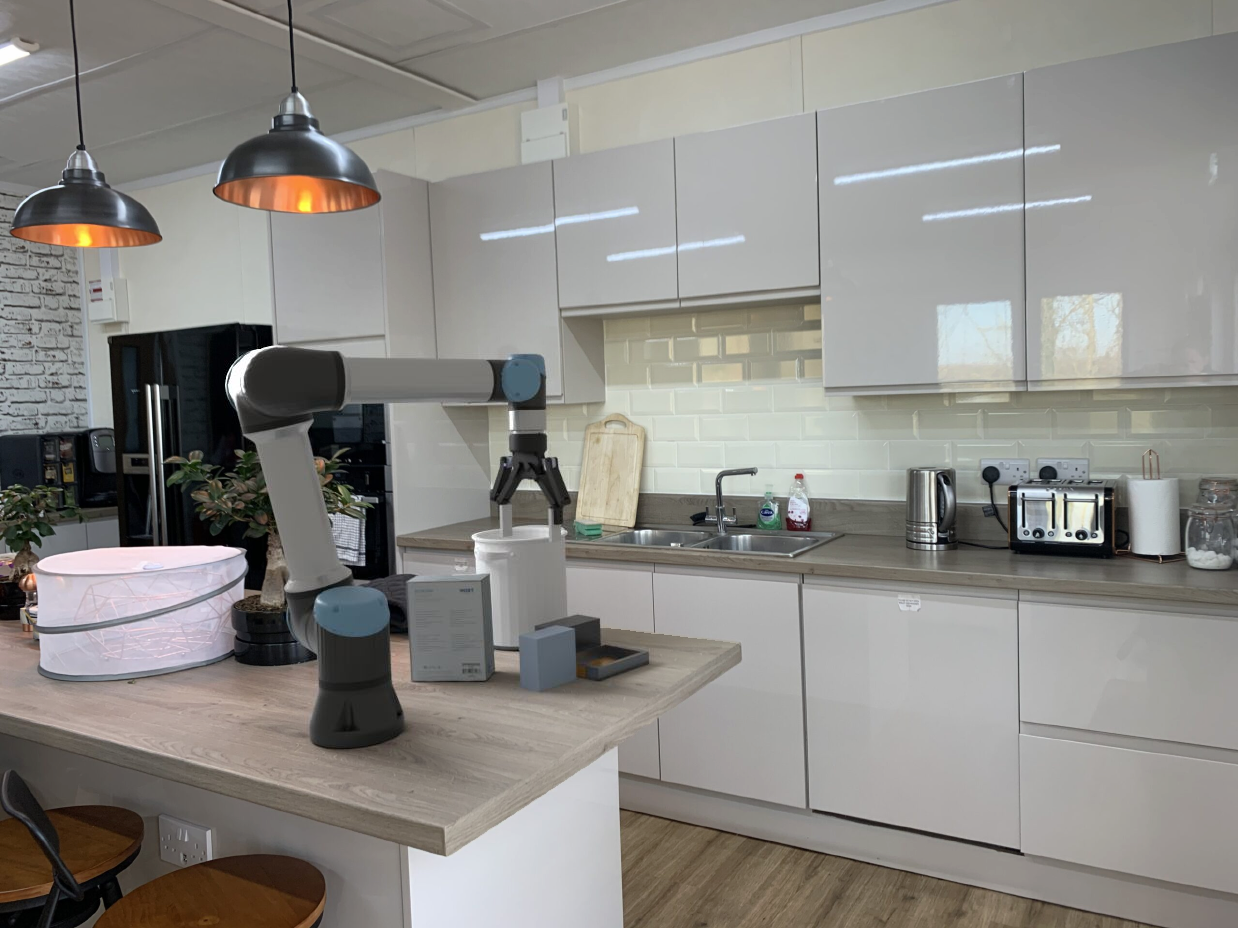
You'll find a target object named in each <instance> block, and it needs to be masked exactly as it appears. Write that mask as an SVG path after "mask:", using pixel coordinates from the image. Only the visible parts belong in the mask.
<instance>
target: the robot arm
mask: <svg viewBox="0 0 1238 928" xmlns="http://www.w3.org/2000/svg"><path fill="white" fill-rule="evenodd" d="M225 392H226V396H227V399H228V400H229V402H230V404H231V406H232V408H234V410H235V411H236V412H237V416H238V420H239V424H240V427H241V431H242V435H243V437H245V438H246V439H248V440H250V441H251V442H253V443H254V444H255V446H256V450H257V454H258V459H259V462H260V466H261V469H262V474H263V478H264V480H265V485H266V488H267V493H268V496H269V500H270V504H271V506H272V507H271V508H272V512H273V515H274V519H275V523H276V527H277V531H278V535H279V538H280V542H281V545H282V550H283V553H284V557H285V562H286V565H287V568H288V573H289V578H288V579H287V581H286V584H285V585H284V587H283V591H284V594H285V598H286V602H287V609H286V624H287V626H288V629H289V631H290V633H291V635H292V637H293V638H294V639H295V640H296V641H297V643H299V644H300V645H301V646H302V647H303V648H305V649H308V650H309V651H310V652H313V654H316V658H317V659H316V663H317V678H318V691H317V695H316V700H315V703H314V708H313V711H312V715H311V718H310V721H309V728H308V729H309V739H310V741H311V742H312V743H314V744H315V745H318V746H319V747H324V748H332V749H348V748H349V749H350V748H360V747H361V748H362V747H366V746H371V745H375V744H380V743H382V742H386V741H388V740H390V739H393V738H395V737H397V736H398V735H400V734H401V733H403V731H404V730H405V727H406V724H405V722H406V721H405V712H404V710H403V707H402V705H401V702H400V699H399V697H398V694H397V692H396V690H395V687H394V685H393V679H392V676H393V675H392V654H391V653H392V652H391V631H390V630H391V628H390V617H391V612H390V609H389V605H388V598H387V597H386V595H385V593H383V591H381V590H379V589H376V588H373V587H370V586H367V587H365V586H362V585H356V584H355V579H354V576H353V572H352V569H350V568H349V567H347V566H346V565H344V564H342V563H341V561H340V557H339V553H338V550H337V546H336V545H337V544H336V542H335V537H334V533H333V529H332V525H331V521H330V517H329V513H328V508H327V505H326V502H325V498H324V493H323V489H322V485H321V482H320V477H319V474H318V470H317V466H316V462H315V458H314V455H313V454H314V453H313V449H312V445H311V441H310V438H309V434H308V432H309V429H310V427H311V426H312V424H313V423H314V420H315V419H314V416H313V413H315V412H316V413H317V412H323V411H324V412H325V411H341V410H342V409H344V407H346V405H355V404H356V405H360V404H367V405H369V404H406V403H407V404H414V403H415V404H418V403H419V404H420V403H462V404H469V405H470V404H487V403H488V404H490V403H491V404H492V403H502V404H503V403H504V404H505V403H507V407H508V408H507V409H508V431H509V432H511V433H510V434H509V435H508V447H509V448H508V450H509V452H510V453H511V454H512V455H503V456H501V457H500V458H499V469H498V471H497V475H496V477H495V480H494V483H493V487H492V490H491V493H490V496H489V500H490V501H491V502H495V503H496V504H497V518H498V520H499V529H500V537H508V536H512V528H513V507H512V505H513V504H511V499H512V497H513V496H514V494H515V493H516V491H517V489H518V488H519V486H520V484H521V482H522V481H524V480H528V481H529V480H532V481H534V482H535V483H536V484H537V485H538V487H539V488H540V490H541V492H542V493H543V495H544V497H545V498H546V500H547V501H548V503H549V505H550V506H549V508H548V511H547V512H548V528H549V542H556V541H561V529H562V525H563V524H564V507H566V506H568V505H571V504H572V499H571V497H570V495H569V494H570V493H569V492H568V489H567V487H566V486H567V485H566V483H565V480H564V479H563V478H564V477H563V476H562V474H561V471H560V467H559V459H558V457H557V456H549V457H548V456H547V457H546V455H545V453H546V451H547V450H548V435H547V433H545V432H544V431H546V430H547V370H546V364H545V358H544V357H543V355H541V354H538V353H514V354H513V353H512V354H509V355H508V356H507V359H481V358H480V359H479V358H477V359H476V358H472V359H471V358H426V357H425V358H417V357H416V358H415V357H414V358H411V357H410V358H409V357H407V358H406V357H355V356H354V357H351V356H350V357H349V356H348V357H347V356H345V355H344V354H342V352H341V351H340V350H323V349H322V350H321V349H320V350H319V349H313V348H312V349H310V348H305V347H304V348H302V347H296V346H289V345H271V346H267V347H263V348H261V349H258V348H257V349H254V350H250V351H248V352H246V353H244V354H242V355H241V356H240V357H238V358H237V359H236V360H235V361H234V363H233V364H232V365H231V367H230V368H229V370H228V372H227V375H226V379H225Z"/></svg>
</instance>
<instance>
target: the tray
mask: <svg viewBox="0 0 1238 928" xmlns="http://www.w3.org/2000/svg"><path fill="white" fill-rule="evenodd" d="M556 625H558V626H563V627H568V628H574V629H575V648H576V677H579V678H584V679H588V680H591V681H597V682H601V681H605V680H606V679H607V680H608V679H609V678H613V677H615V676H619V675H620V674H624V673H627V672H629V671H632V670H635V669H638V668H640V667H643V666H647V665H649V664H650V653H649V651H648V650H643V649H638V648H633V647H627V646H623V645H617V644H612V643H608V642H602V641H601V639H602V637H601V617H595V616H590V615H583V614H578V613H577V614H573V615H570V616H568V617H566V618H562V619H558V620H555V621H551V622H547V623H543V624H540V625H536V626H535V631H537V630H541V629H545V628H548V627H552V626H556Z"/></svg>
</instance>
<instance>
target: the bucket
mask: <svg viewBox="0 0 1238 928" xmlns="http://www.w3.org/2000/svg"><path fill="white" fill-rule="evenodd" d="M568 533H569V532H568V530H566V529H563V528H561V541H556V542H549V526H548V527H544V526H526V527H525V526H524V527H523V526H521V527H512V536H508V537H500V528H497V529H496V528H495V529H491V530H490V529H489V530H488V529H487V530H483V531H480V532H476V533H473V534H472V535H471V539H472V540H474V549H473V552H474V553H473V554H474V557H475V574H487V573H489V574H490V585H491V602H492V622H493V642H494V650H501V651H502V650H503V651H519V635H523V634H527V633H530V632H534V631H535V626H536V625H540V624H543V623H547V622H551V621H555V620H558V619H562V618H566V617H569V616H568V594H567V593H568V591H567V588H568V587H567V565H566V564H567V561H566V560H567V559H566V536H568Z"/></svg>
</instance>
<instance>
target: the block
mask: <svg viewBox="0 0 1238 928" xmlns="http://www.w3.org/2000/svg"><path fill="white" fill-rule="evenodd" d="M518 651H519V653H518V655H519V674H520V675H519V676H520V688H521V689H525V690H529V691H532V692H536V693H541V692H545V691H546V690H550V689H553V688H556V687H558V686H561V685H564V684H568V683H570V682H573V681H576V680H577V679H578V678H577V677H578V676H576V648H575V629H574V628H568V627H563V626H558V625H556V626H552V627H548V628H545V629H541V630H537V631H534V632H530V633H527V634H523V635H519V650H518Z"/></svg>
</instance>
